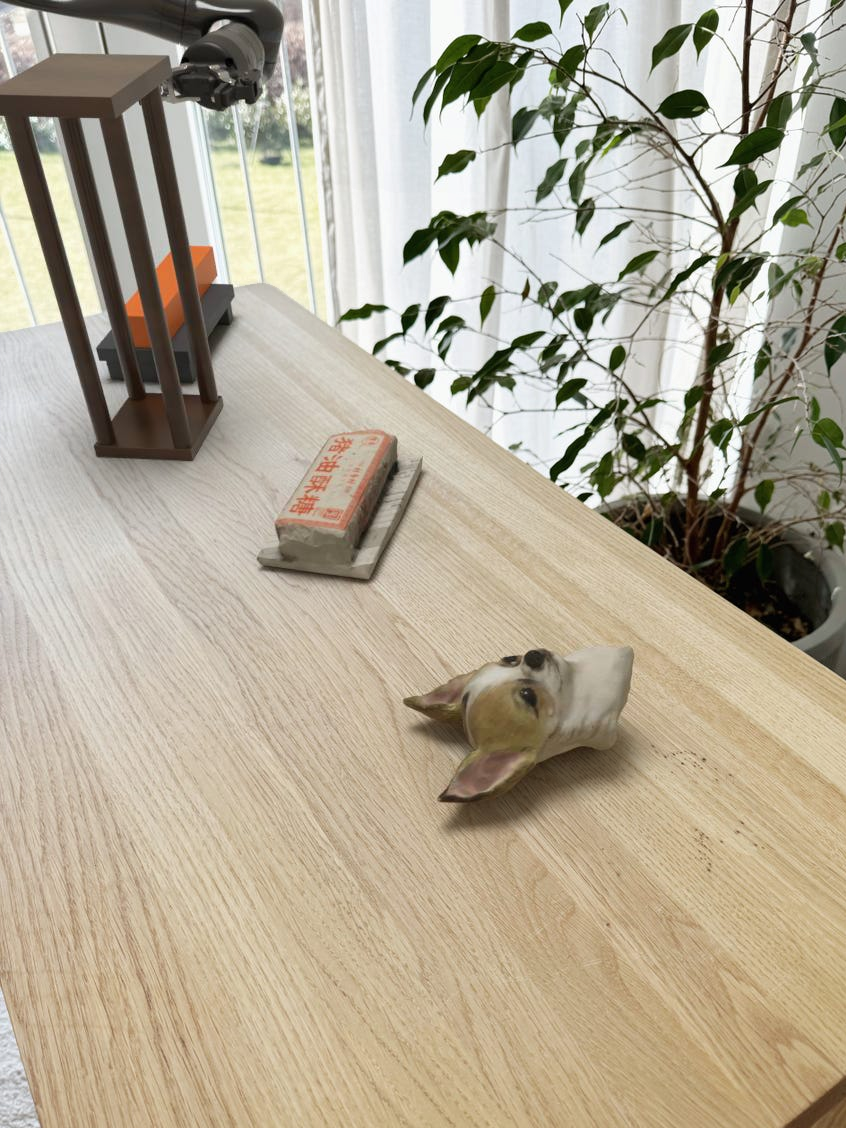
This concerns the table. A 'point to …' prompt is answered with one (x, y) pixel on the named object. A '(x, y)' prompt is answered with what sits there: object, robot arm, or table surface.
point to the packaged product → (344, 506)
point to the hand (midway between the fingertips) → (180, 100)
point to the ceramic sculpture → (529, 713)
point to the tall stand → (105, 93)
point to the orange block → (171, 293)
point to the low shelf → (174, 338)
